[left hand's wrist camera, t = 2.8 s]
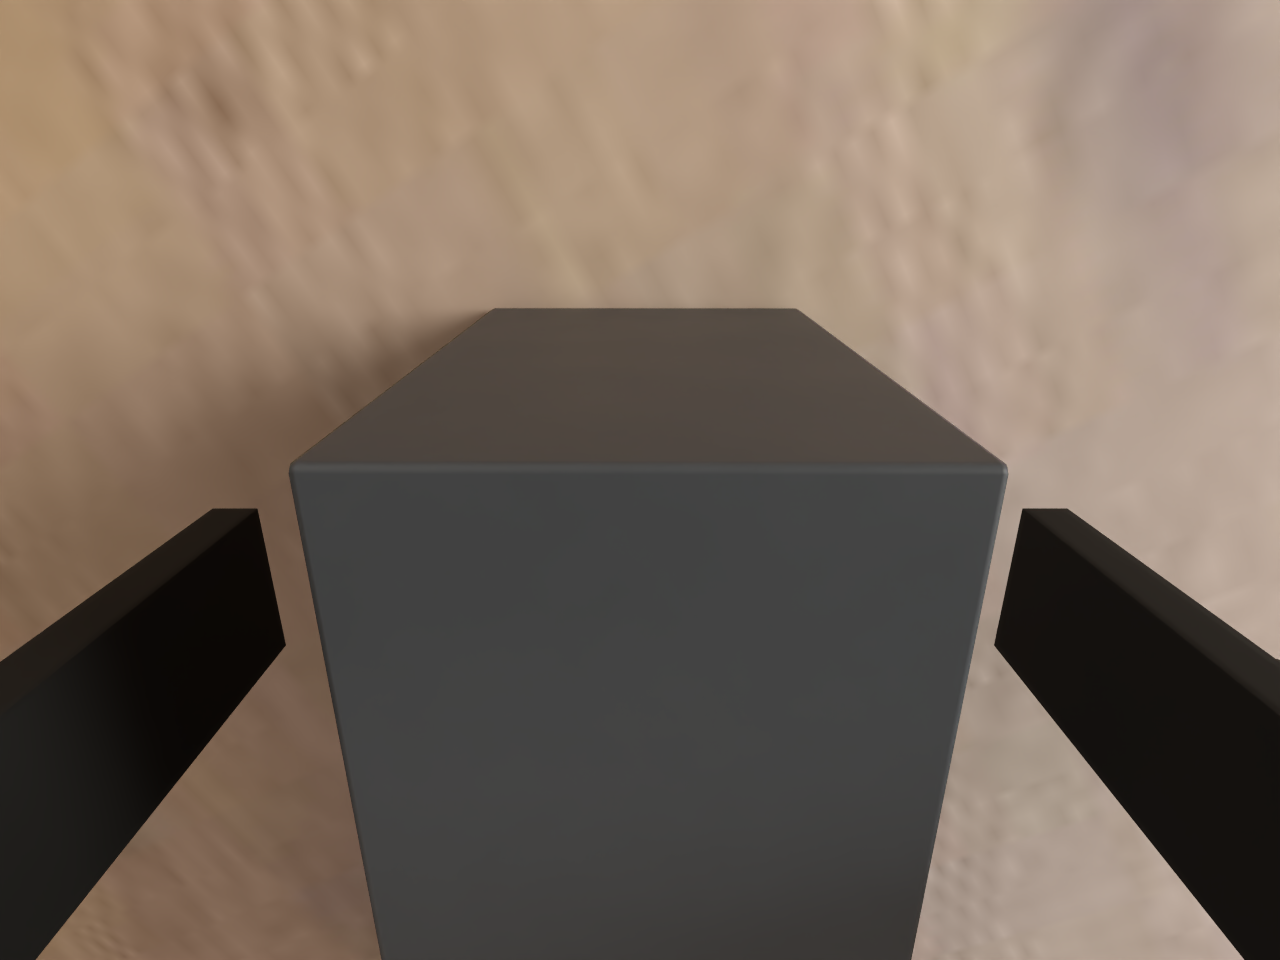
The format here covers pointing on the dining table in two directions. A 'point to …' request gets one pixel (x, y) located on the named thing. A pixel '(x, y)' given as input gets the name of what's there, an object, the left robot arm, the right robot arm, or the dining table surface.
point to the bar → (647, 637)
